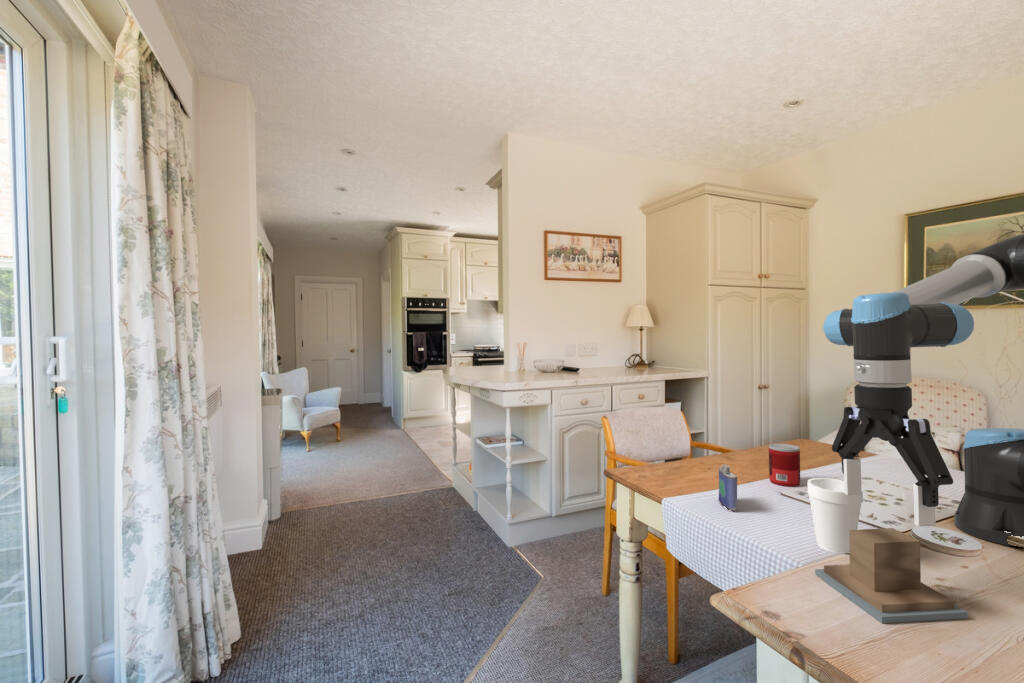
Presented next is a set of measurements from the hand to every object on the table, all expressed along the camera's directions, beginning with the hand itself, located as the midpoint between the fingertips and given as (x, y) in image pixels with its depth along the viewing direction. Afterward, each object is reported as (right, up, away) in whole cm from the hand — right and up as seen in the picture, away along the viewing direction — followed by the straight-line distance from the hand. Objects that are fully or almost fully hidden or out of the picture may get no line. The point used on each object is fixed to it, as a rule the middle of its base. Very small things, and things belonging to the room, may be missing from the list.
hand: (885, 508), depth 76 cm
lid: (0, -14, 0) cm, 14 cm away
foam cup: (+4, -15, +17) cm, 23 cm away
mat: (0, -15, 0) cm, 15 cm away
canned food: (+18, -14, +57) cm, 61 cm away
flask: (-7, -15, +41) cm, 44 cm away
